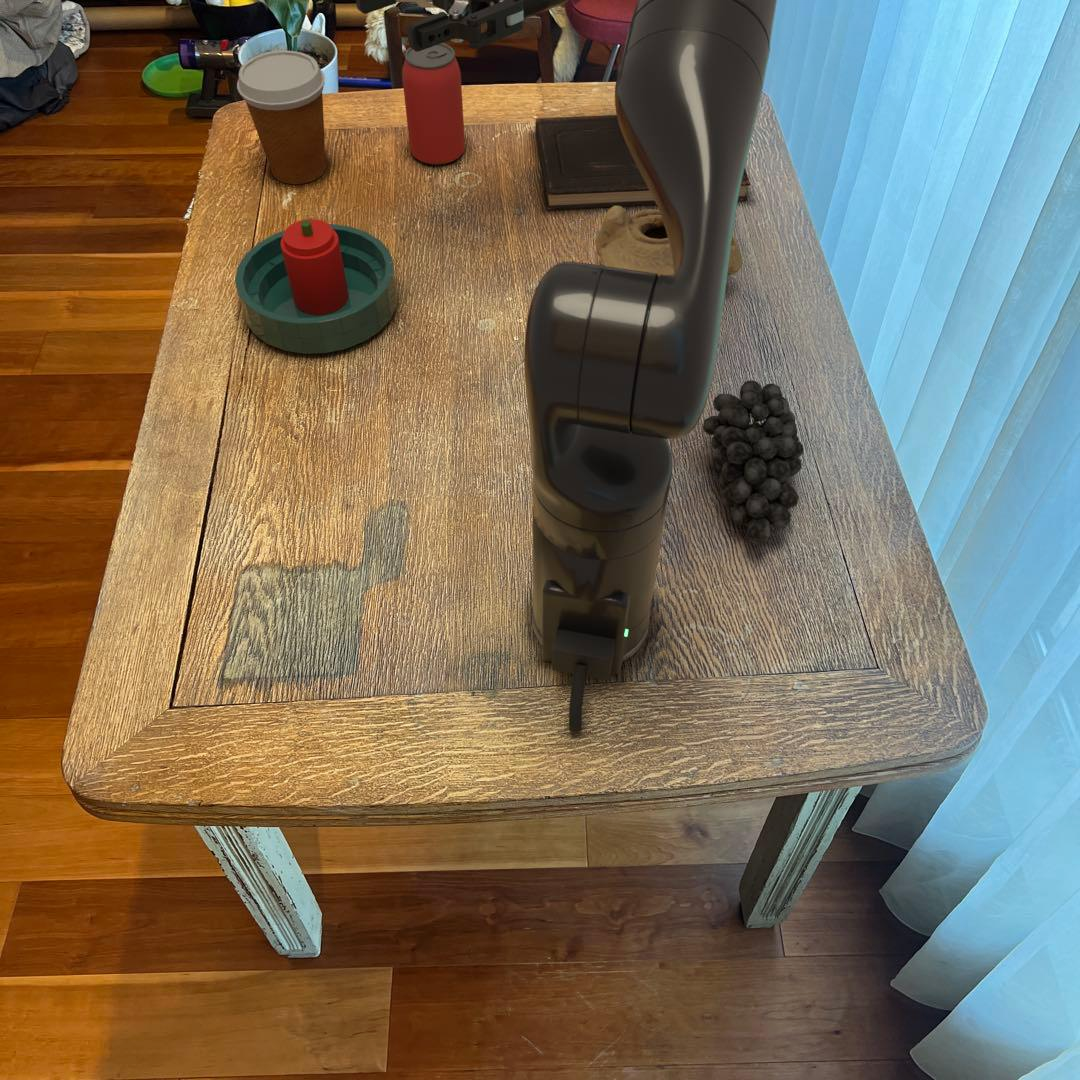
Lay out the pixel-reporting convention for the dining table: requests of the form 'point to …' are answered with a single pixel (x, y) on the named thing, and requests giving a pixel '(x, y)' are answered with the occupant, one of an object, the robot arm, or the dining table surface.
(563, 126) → the hardcover book
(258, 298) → the bowl
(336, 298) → the red cylinder
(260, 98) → the disposable coffee cup
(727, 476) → the fruit
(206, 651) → the dining table surface
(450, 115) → the beer can
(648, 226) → the oil lamp
